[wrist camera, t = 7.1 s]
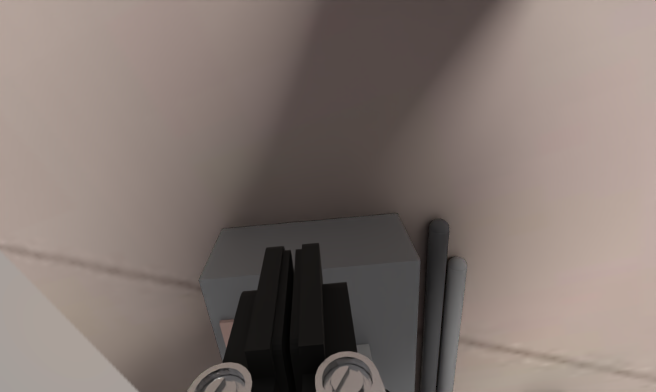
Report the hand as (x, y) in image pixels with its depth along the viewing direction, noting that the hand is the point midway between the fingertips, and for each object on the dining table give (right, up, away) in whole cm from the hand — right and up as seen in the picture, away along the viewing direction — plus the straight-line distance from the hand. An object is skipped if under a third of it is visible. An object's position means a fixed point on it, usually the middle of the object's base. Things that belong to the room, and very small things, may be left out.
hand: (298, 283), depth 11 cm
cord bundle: (+9, -10, +16) cm, 21 cm away
